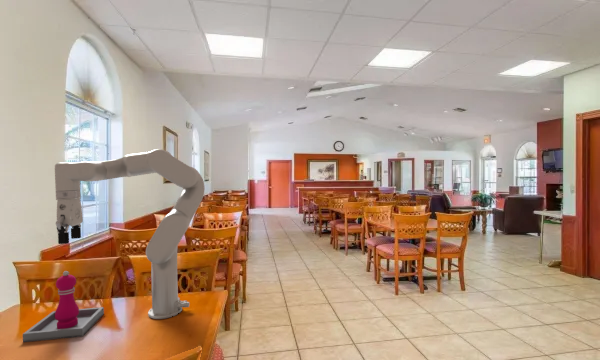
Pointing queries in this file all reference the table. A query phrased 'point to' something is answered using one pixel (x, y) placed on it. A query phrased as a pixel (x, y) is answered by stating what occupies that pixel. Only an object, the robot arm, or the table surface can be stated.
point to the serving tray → (49, 329)
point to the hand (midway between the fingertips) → (70, 240)
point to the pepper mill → (66, 302)
